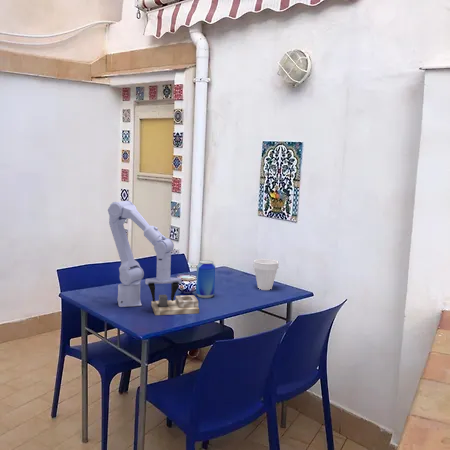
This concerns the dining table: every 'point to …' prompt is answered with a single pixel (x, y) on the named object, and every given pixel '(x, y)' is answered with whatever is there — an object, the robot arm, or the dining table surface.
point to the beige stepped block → (177, 306)
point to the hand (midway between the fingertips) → (162, 300)
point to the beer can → (205, 279)
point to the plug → (163, 300)
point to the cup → (265, 272)
